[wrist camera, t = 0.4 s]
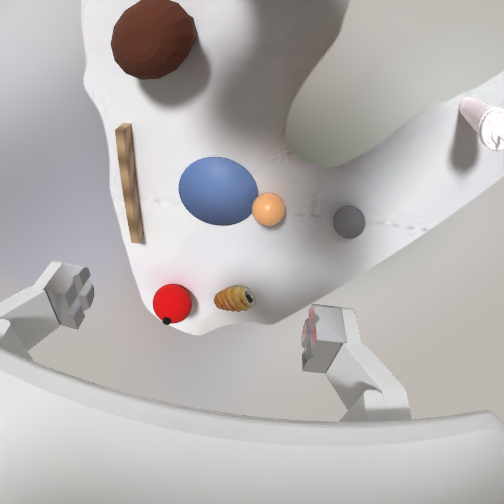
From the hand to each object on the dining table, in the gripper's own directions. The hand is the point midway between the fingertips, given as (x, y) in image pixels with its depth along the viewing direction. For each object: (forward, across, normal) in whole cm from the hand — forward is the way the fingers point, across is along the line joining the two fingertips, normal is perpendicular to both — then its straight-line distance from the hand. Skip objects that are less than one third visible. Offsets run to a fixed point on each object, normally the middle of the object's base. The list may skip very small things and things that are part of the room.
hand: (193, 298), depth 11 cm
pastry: (+45, -1, +44) cm, 63 cm away
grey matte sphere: (+39, -18, +17) cm, 46 cm away
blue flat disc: (+42, +5, +17) cm, 45 cm away
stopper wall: (+42, +21, +18) cm, 50 cm away
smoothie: (+39, -33, -8) cm, 51 cm away
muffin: (+39, +14, -10) cm, 43 cm away
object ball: (+39, -4, +17) cm, 43 cm away
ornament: (+45, +14, +45) cm, 65 cm away
